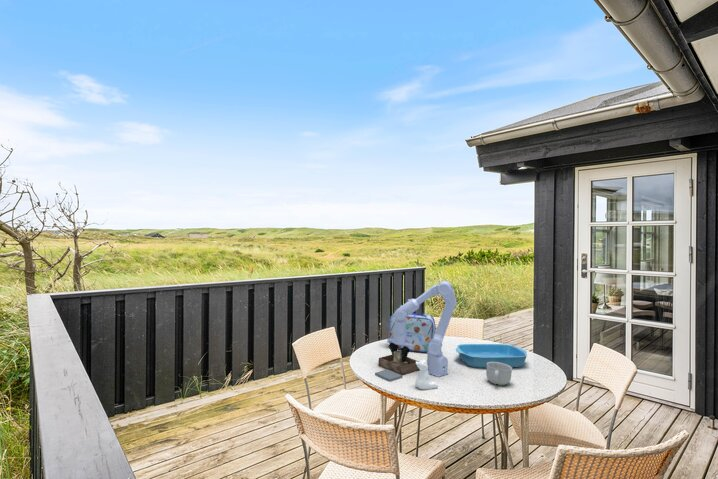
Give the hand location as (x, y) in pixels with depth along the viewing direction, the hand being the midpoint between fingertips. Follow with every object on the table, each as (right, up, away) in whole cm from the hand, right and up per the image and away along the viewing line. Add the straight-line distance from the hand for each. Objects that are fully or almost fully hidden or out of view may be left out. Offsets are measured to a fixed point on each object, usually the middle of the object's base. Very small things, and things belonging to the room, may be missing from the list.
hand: (399, 360), depth 183 cm
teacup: (+42, -5, -17) cm, 46 cm away
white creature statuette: (+8, -5, -23) cm, 25 cm away
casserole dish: (+49, -6, +12) cm, 51 cm away
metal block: (0, -1, 0) cm, 1 cm away
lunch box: (+11, -4, +31) cm, 33 cm away
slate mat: (-6, -4, -11) cm, 14 cm away
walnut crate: (0, -4, 0) cm, 4 cm away
